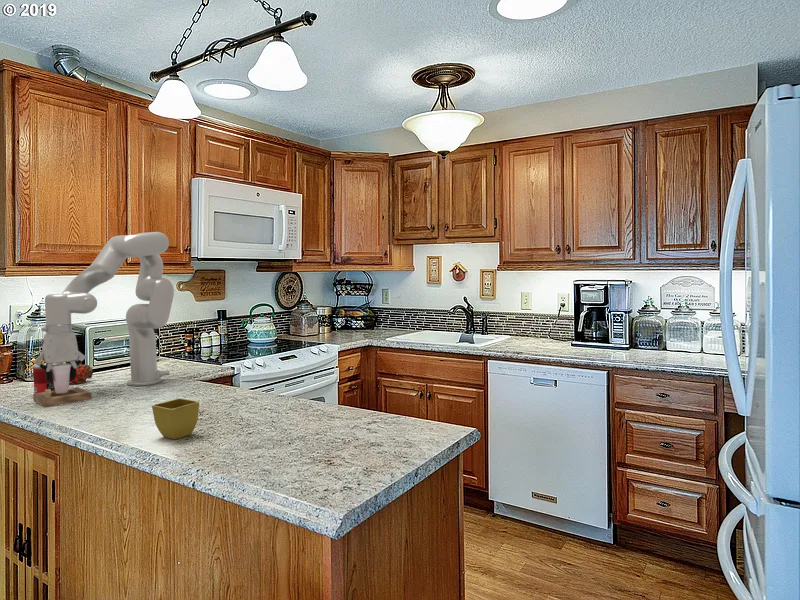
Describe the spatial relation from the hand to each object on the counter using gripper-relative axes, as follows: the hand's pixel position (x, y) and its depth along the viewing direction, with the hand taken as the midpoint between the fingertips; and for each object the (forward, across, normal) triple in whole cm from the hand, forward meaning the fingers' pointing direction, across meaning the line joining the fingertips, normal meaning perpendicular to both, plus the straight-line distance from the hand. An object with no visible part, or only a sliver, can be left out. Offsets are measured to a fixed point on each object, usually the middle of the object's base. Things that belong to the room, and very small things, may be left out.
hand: (61, 380), depth 189 cm
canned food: (+7, -1, +15) cm, 17 cm away
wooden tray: (+7, 0, 0) cm, 7 cm away
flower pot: (+7, +8, -72) cm, 73 cm away
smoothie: (+4, 0, 0) cm, 4 cm away
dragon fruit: (+7, +13, +29) cm, 33 cm away
